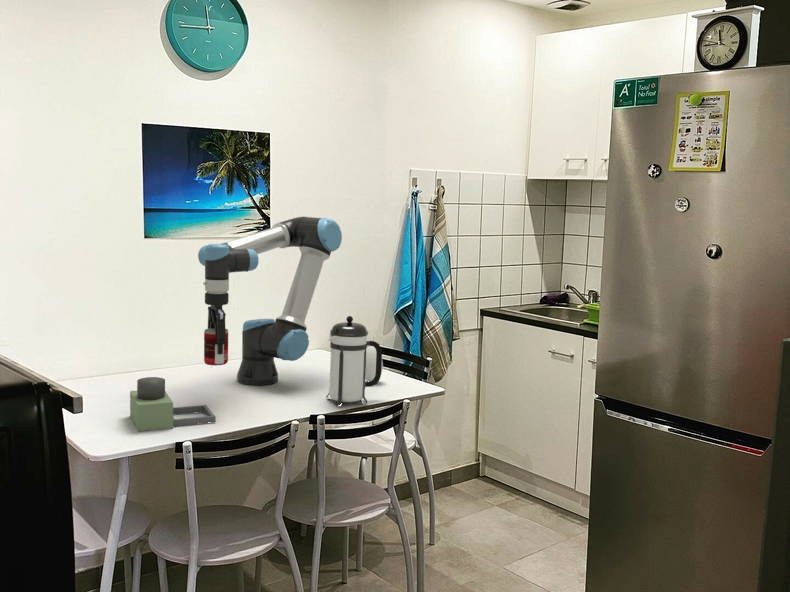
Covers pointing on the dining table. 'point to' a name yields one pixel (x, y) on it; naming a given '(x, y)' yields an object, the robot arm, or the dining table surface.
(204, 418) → the capped block with tray
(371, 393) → the dining table surface
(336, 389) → the coffee press
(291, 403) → the dining table surface
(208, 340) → the canned food
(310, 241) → the robot arm
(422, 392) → the dining table surface
